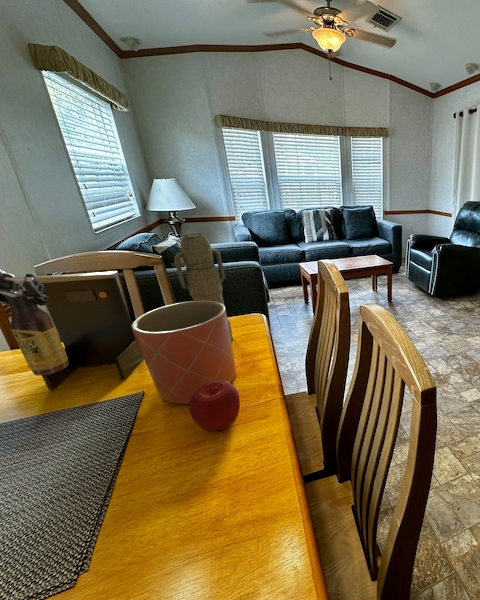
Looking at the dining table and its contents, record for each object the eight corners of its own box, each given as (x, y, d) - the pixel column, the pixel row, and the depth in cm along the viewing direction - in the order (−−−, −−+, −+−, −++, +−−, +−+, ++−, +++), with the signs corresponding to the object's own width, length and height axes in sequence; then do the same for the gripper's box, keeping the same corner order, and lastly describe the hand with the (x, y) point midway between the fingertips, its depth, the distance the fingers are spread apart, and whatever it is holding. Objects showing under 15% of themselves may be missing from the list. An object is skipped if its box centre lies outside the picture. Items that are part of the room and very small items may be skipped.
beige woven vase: (243, 339, 109) (221, 233, 95) (205, 353, 100) (175, 240, 87) (231, 331, 114) (208, 230, 101) (194, 344, 105) (164, 236, 92)
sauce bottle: (26, 375, 74) (-18, 293, 66) (58, 360, 79) (22, 283, 72) (47, 379, 72) (5, 295, 65) (78, 364, 78) (43, 285, 70)
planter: (196, 416, 75) (172, 339, 67) (137, 398, 81) (110, 326, 73) (255, 370, 92) (242, 305, 84) (203, 359, 97) (186, 296, 90)
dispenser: (76, 366, 94) (36, 276, 84) (147, 357, 98) (117, 271, 88) (46, 390, 84) (-4, 291, 73) (127, 380, 88) (91, 284, 78)
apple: (193, 446, 67) (180, 407, 63) (200, 415, 75) (189, 379, 71) (243, 433, 70) (234, 395, 66) (245, 405, 78) (237, 370, 74)
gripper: (5, 242, 59) (74, 284, 75) (-98, 247, 56) (-4, 290, 71) (-7, 279, 56) (67, 315, 72) (-116, 286, 53) (-14, 322, 69)
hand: (31, 302), depth 72 cm, fingers closed on sauce bottle, 4 cm apart
